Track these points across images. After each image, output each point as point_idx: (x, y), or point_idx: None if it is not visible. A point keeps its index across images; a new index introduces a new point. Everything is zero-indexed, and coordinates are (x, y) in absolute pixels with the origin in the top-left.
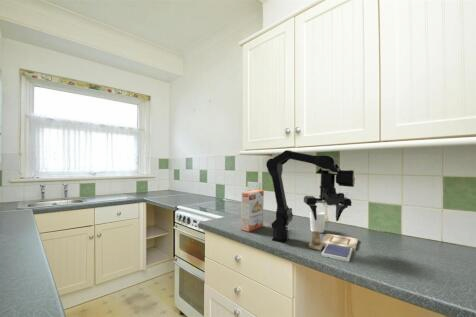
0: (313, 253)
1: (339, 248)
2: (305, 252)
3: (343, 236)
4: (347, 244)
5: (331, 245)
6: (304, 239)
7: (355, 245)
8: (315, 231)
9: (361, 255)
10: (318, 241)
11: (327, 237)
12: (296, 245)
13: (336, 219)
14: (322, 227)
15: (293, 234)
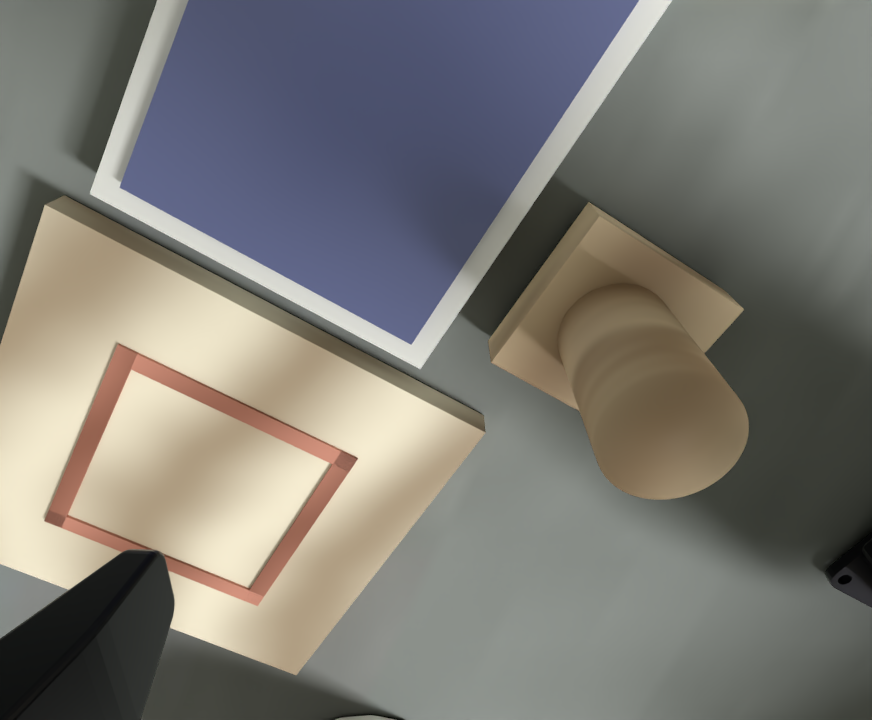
0: (753, 86)
1: (309, 153)
2: (859, 127)
3: None
4: (128, 348)
5: (394, 281)
6: (629, 556)
7: (16, 319)
8: (659, 481)
9: (3, 6)
10: (615, 308)
11: (333, 573)
12: (842, 380)
13: (151, 620)
14: None
15: (689, 681)
